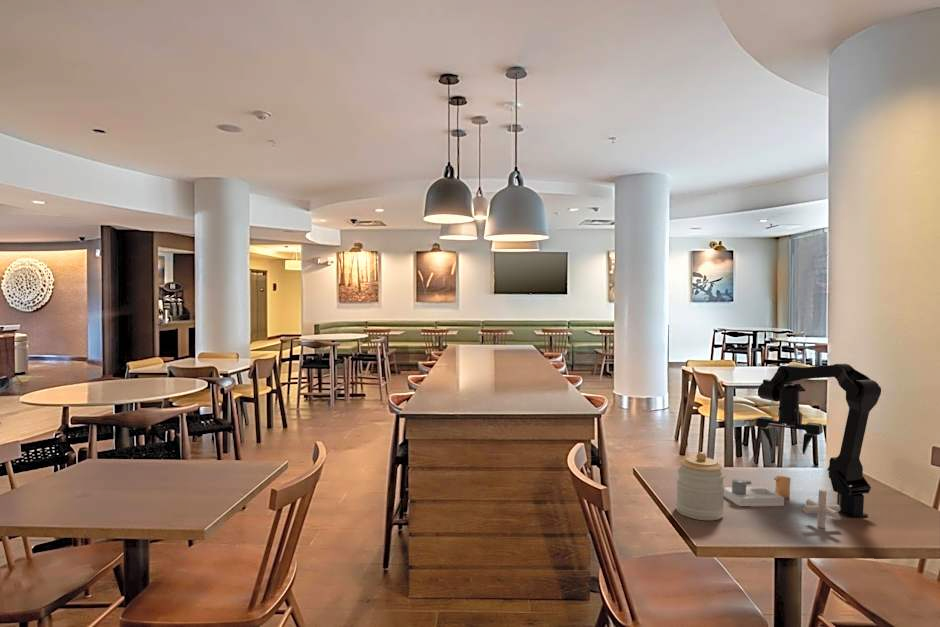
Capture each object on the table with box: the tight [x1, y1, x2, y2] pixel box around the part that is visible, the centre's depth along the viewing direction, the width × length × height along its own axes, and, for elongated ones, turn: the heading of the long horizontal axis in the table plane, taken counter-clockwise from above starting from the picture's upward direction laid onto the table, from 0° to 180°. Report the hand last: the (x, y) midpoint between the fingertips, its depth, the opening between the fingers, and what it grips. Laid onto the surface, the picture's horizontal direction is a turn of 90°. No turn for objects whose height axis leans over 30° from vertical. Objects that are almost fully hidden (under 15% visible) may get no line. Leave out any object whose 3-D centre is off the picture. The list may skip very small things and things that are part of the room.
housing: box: [724, 478, 785, 507], centre depth 185 cm, size 10×14×6 cm
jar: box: [675, 451, 726, 521], centre depth 173 cm, size 13×13×18 cm
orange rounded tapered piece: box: [774, 475, 791, 500], centre depth 189 cm, size 4×5×6 cm
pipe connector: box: [802, 489, 840, 529], centre depth 165 cm, size 10×10×10 cm
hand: (787, 451), depth 196 cm, fingers open, 9 cm apart
